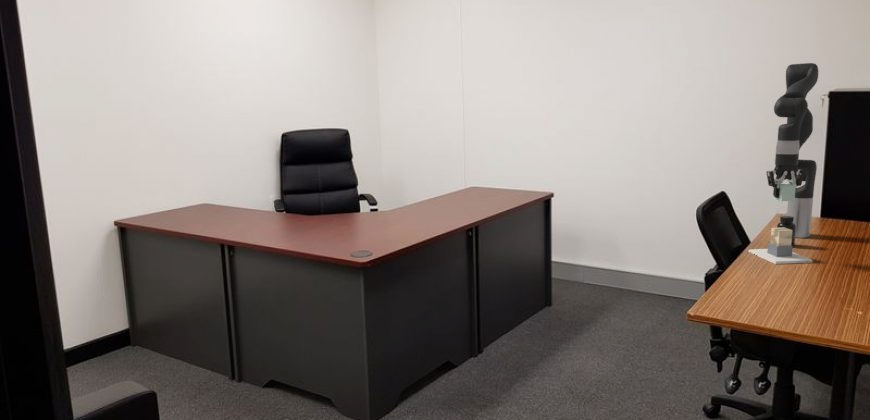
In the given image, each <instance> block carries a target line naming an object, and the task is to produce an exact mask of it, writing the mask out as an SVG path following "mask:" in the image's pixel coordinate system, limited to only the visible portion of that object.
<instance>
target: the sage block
mask: <svg viewBox="0 0 870 420" xmlns="http://www.w3.org/2000/svg"><path fill="white" fill-rule="evenodd" d="M795 187H796V185H794V184H789V182H782V183H781V185H780V195H779V198H775V197H774V196H773V200H775V201H778V202H779V201H780V202H788V201H794V200H795ZM796 188H797V187H796Z"/></svg>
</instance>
